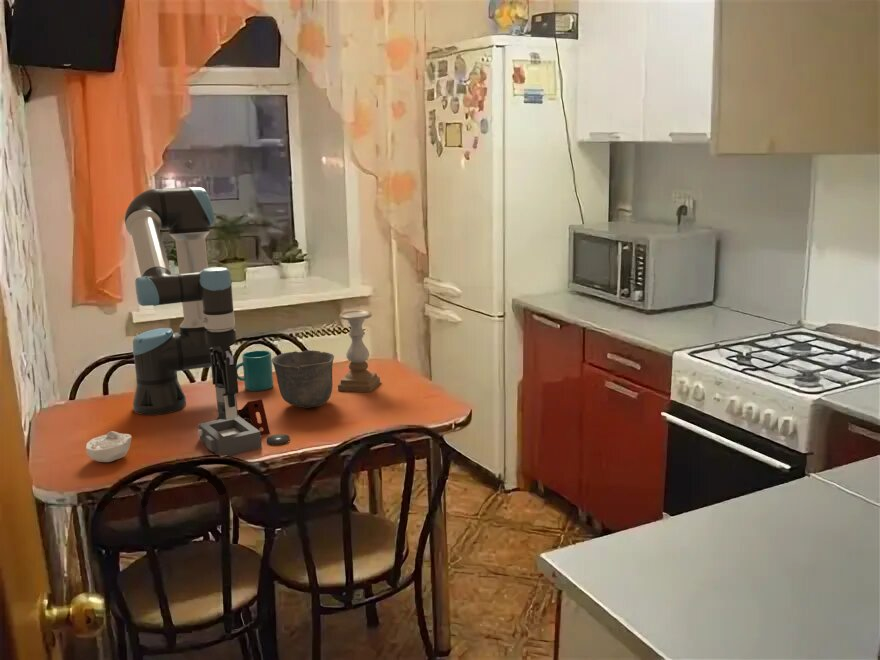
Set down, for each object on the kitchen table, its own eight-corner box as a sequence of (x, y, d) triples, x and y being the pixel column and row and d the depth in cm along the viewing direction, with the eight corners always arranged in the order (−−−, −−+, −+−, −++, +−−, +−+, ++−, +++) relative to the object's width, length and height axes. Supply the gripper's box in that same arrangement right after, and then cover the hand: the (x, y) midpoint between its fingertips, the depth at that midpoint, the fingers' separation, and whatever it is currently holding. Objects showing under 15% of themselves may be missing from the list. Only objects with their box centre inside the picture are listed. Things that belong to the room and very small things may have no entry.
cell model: (77, 465, 208) (73, 440, 206) (111, 448, 219) (108, 424, 217) (109, 470, 204) (106, 444, 203) (142, 453, 215) (139, 428, 214)
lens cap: (263, 440, 222) (263, 437, 222) (284, 435, 225) (284, 432, 225) (272, 446, 217) (272, 443, 217) (293, 441, 220) (293, 438, 220)
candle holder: (380, 382, 271) (377, 310, 265) (370, 392, 260) (367, 317, 255) (348, 380, 273) (345, 309, 267) (337, 391, 263) (333, 317, 257)
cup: (234, 386, 270) (231, 353, 267) (271, 382, 274) (268, 349, 271) (237, 394, 262) (234, 360, 259) (275, 389, 266) (272, 355, 263)
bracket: (232, 441, 222) (224, 405, 224) (222, 451, 234) (215, 417, 236) (270, 433, 227) (262, 398, 229) (258, 443, 239) (251, 410, 241)
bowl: (295, 420, 237) (292, 369, 233) (264, 406, 250) (260, 357, 246) (347, 405, 248) (344, 357, 245) (314, 393, 261) (311, 346, 258)
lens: (215, 415, 219) (212, 383, 217) (233, 411, 221) (231, 379, 219) (222, 420, 215) (219, 387, 213) (240, 416, 217) (237, 383, 215)
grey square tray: (195, 440, 223) (193, 424, 222) (239, 430, 229) (237, 415, 228) (216, 458, 210) (214, 442, 209) (261, 447, 216) (260, 431, 215)
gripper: (194, 324, 218) (202, 409, 223) (217, 337, 203) (226, 427, 209) (221, 320, 222) (229, 403, 227) (247, 332, 207) (254, 421, 213)
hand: (227, 415), depth 218 cm, fingers closed on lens, 5 cm apart
